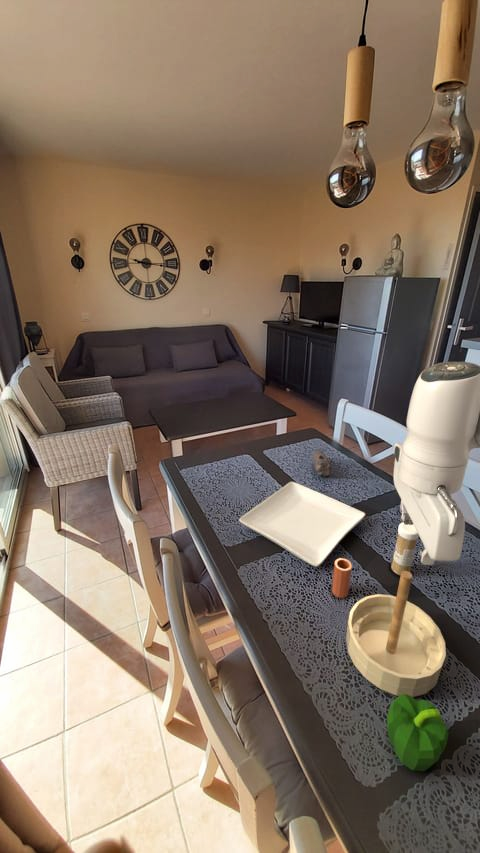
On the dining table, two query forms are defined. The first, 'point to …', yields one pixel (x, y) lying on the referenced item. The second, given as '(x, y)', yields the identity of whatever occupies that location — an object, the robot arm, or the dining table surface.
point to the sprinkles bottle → (404, 548)
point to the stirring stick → (398, 611)
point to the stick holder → (341, 577)
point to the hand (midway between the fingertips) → (416, 540)
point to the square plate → (303, 521)
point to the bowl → (415, 652)
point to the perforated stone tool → (321, 464)
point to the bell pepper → (416, 732)
